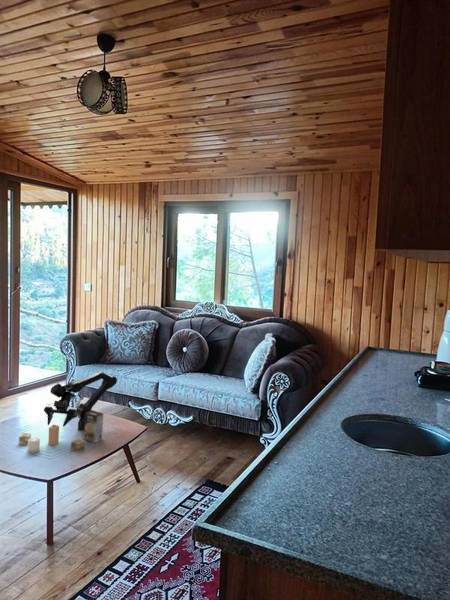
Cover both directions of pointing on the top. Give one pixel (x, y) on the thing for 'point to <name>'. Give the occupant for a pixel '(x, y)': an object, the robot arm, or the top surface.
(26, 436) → the oak block
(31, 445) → the cream jar
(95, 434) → the coffee box
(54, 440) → the terracotta brick
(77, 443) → the walnut block
